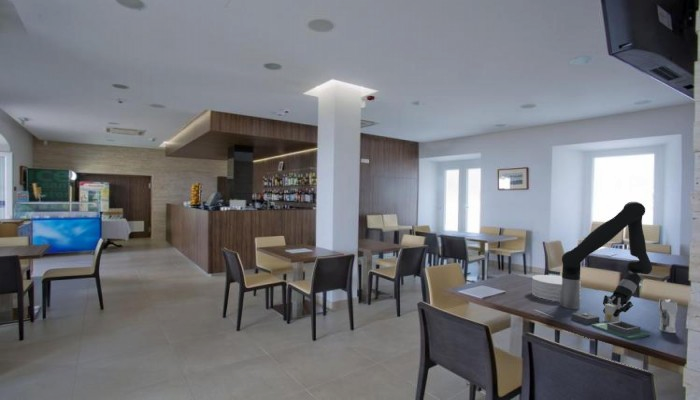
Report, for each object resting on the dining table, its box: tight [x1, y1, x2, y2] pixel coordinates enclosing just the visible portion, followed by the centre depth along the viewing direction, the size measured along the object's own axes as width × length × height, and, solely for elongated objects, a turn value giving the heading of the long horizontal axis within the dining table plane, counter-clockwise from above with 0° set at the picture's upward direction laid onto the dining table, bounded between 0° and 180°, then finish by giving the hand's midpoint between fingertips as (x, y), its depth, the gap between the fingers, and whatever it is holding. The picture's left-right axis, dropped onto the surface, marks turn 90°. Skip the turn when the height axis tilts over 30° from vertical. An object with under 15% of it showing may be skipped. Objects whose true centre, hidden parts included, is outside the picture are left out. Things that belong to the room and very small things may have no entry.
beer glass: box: [658, 298, 678, 334], centre depth 178 cm, size 7×7×15 cm
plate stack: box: [531, 274, 582, 303], centre depth 238 cm, size 28×28×12 cm
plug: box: [604, 303, 620, 322], centre depth 190 cm, size 4×5×9 cm
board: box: [590, 320, 650, 340], centre depth 177 cm, size 18×14×4 cm
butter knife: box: [534, 309, 554, 318], centre depth 197 cm, size 1×27×3 cm
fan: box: [570, 311, 600, 326], centre depth 191 cm, size 9×9×4 cm
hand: (609, 314), depth 189 cm, fingers closed on plug, 4 cm apart
